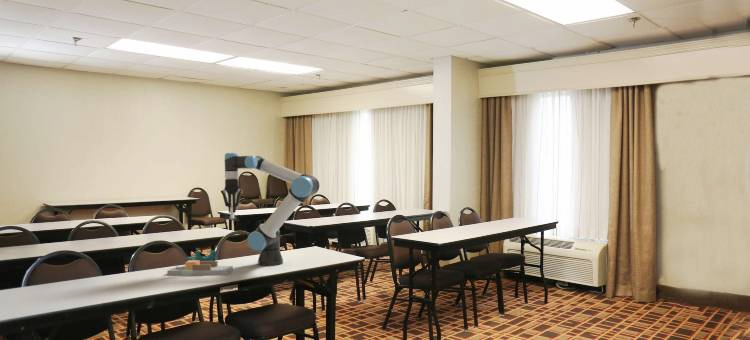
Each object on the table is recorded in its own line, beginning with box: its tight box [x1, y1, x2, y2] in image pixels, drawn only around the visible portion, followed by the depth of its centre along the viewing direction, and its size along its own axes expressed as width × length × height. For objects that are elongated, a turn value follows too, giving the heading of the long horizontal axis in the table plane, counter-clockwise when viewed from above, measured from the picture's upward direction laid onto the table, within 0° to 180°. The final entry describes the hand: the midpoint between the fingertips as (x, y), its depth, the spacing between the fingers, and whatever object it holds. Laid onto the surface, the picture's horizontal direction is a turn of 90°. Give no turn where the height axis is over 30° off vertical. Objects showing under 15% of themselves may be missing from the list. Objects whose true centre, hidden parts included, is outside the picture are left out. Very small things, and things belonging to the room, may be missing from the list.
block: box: [184, 260, 200, 269], centre depth 302 cm, size 6×6×4 cm
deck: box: [166, 260, 234, 276], centre depth 301 cm, size 34×12×6 cm, turn 87°
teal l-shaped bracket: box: [186, 250, 216, 262], centre depth 320 cm, size 18×11×10 cm, turn 37°
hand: (232, 218), depth 316 cm, fingers closed
